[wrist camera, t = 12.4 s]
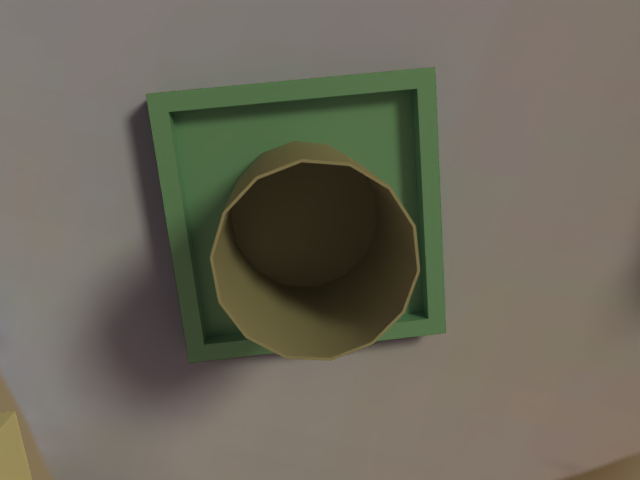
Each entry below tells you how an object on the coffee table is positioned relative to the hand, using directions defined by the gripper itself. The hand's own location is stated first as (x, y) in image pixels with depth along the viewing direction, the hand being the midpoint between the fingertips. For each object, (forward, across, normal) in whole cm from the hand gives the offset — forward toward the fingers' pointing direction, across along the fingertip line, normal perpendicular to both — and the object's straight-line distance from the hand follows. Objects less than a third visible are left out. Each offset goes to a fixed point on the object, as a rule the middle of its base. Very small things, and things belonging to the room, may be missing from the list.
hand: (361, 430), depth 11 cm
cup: (+22, 0, 0) cm, 22 cm away
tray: (+22, 0, 0) cm, 23 cm away
